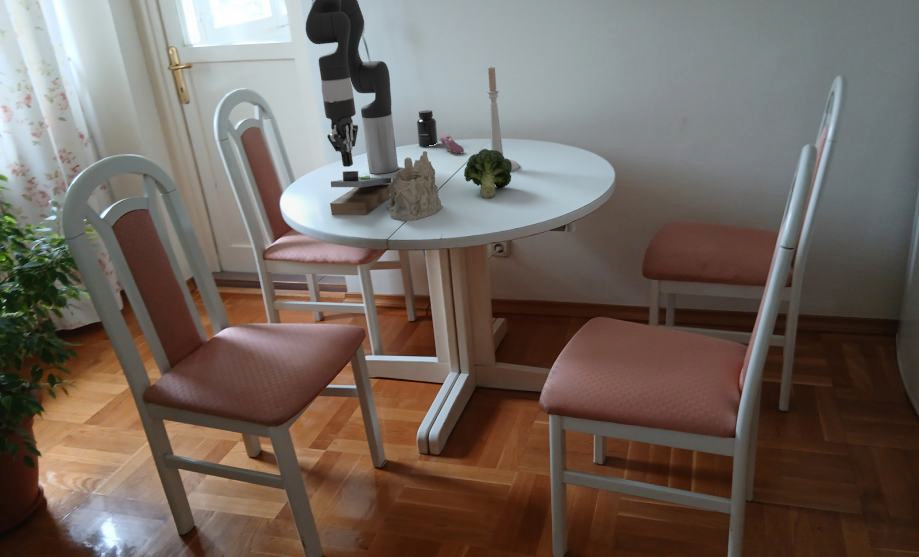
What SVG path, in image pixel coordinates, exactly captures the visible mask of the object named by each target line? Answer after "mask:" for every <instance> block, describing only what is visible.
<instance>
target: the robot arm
mask: <svg viewBox="0 0 919 557" xmlns="http://www.w3.org/2000/svg"><path fill="white" fill-rule="evenodd" d="M309 9H310V10H309V12H308V15H307V17H306V21H305V34H306V37H307V38H308V40H309V41H310V42H312V43H313V44H314V45H325V44H335V43H337V47H336V49H334V50H333V51H332V52H331V51H330V52H329V53H328V52H327V53H325V54H322V55H320V56H319V58H318V67H319V74H320V79H321V94H322V101H323V107H324V112H325V113H324V114H325V118H326V119H327V120H328V119H329V120H330V122H331V124H330V125H331V126H330V128H331V132H330V133H328V134H327V140H328V141H329V143H330V144H331V146H332V148H333V149H334V151H335V152H339V153H340V155H341V162H342V166H343V167H345V168H346V167H347V168H348V167H352V166H353V165H354V161H353V154H352V151H353V148H354V147H355V146H356V144H357V137H358V136H357V135H358V131H359V125H358V124H354V122H353V118H352V117H354V116H355V115H356V114H357V113H356V105H355V97H354V90H355V91H356V93H358V94H374V95H375V96H374V97H375V98H374V100H373V101H372V102H370V103H368V104H366V105H364V106H362V107H361V109H360V112H361V121H362V126H363V128H362V129H363V135H364V144H365V151H366V157H367V166H368V173H371V174H388V173H392V172H395V171H397V170H399V164H398V163H399V162H398V152H397V147H396V146H397V145H396V137H395V130H394V129H395V128H394V123H393V122H394V121H393V120H394V119H393V114H392V113H393V112H392V93H391V78H390V71H389V67H388V65H387V64H386V62H384V61H381V60H373V61H363V60H362V58H361V55H360V51H359V46H360V43H361V42H360V41H361V39H362V36H363V32H364V28H365V19H364V16H363V13H362V10H361V7H360V5H359V1H358V0H311V6H310V8H309ZM353 88H354V89H353Z"/></svg>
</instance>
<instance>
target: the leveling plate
mask: <svg viewBox="0 0 919 557" xmlns="http://www.w3.org/2000/svg"><path fill="white" fill-rule="evenodd" d="M388 183H392V177H391V176H390V177H388V176H387V177H384V176H383V177H379V176H378V177H374V176H373V177H372V176H370V175H359V171H358V170H349V171H348V170H345V171H342V179H338V180H331V181H330V188H355V187H368V186H375V185H381V184H388Z"/></svg>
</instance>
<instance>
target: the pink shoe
mask: <svg viewBox="0 0 919 557" xmlns="http://www.w3.org/2000/svg"><path fill="white" fill-rule="evenodd" d="M439 140H440V146H443V147H445V149H446V150H447V151H448V152H450V153H451V152H453V153H457V154H460V153H461V152H463V153H464V151H465V150H464V147H462V145H459V144H458V143H456V142H455V140H454V139H453V138H452V136H450V135H447V134H445V135H442V136H441V137H440V138H439ZM461 154H462V153H461Z"/></svg>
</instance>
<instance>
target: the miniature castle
mask: <svg viewBox="0 0 919 557" xmlns="http://www.w3.org/2000/svg"><path fill="white" fill-rule="evenodd" d="M403 166H404V167H403V168H402V169H401V168H400V169H398V171H397V170H396V171H397V172H396V174H395V176H394V178H395V179H393V178H392V180H391V182H392V183H391V184H390V185H389V186H388V189H389V190H390V194H389V197H390V198H389V203H388V204H387V211H388V214H389V217H390V219H393V220H395V221H400V220H401V221H406V222H409V221H410V222H412V221H418V220H420V219H423V218H427V217H429V216H432V215H435V214H436V213H438V212H439V211H440V210H441V209H442V208H443V205H442V201H441V199H440V197H439V191H438V188H439V187H438V186H437V185H436V177H435V176H436V170H435V168H434V167H433V165H432V161H431V160H429V157H428V151H426V150H424V151H423V152H422V155H420V156H419V160H417V159H415V160H414V163H413V160H412V158H411V157H405V158H404V163H403Z"/></svg>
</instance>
